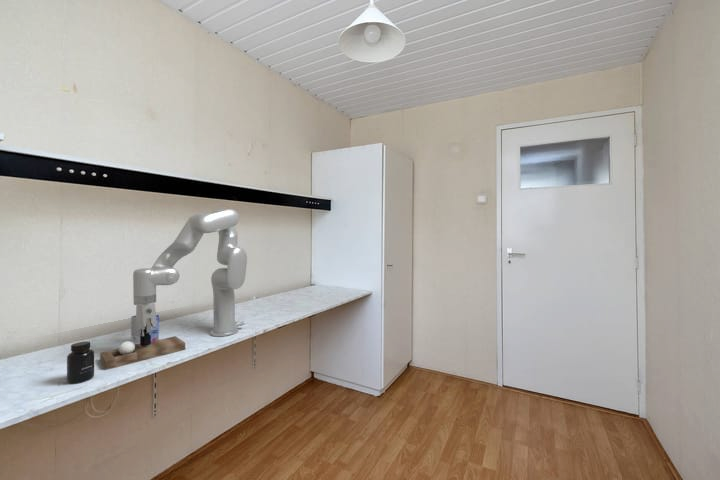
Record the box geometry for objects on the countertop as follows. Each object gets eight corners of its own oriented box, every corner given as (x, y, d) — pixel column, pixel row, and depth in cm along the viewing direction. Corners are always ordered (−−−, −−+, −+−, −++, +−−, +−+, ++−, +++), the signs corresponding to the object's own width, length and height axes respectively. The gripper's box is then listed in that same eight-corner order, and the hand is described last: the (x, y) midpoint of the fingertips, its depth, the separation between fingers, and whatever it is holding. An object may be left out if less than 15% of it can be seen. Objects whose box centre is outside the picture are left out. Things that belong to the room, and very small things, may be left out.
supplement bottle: (87, 382, 102) (87, 346, 101) (62, 385, 100) (61, 348, 99) (98, 373, 108) (98, 339, 108) (74, 376, 106) (74, 341, 106)
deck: (175, 342, 139) (175, 336, 138) (185, 349, 130) (185, 342, 130) (100, 360, 119) (99, 352, 119) (106, 369, 111) (106, 361, 111)
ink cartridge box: (159, 341, 140) (159, 309, 140) (149, 345, 135) (148, 312, 135) (141, 340, 142) (141, 308, 142) (130, 344, 137) (129, 311, 137)
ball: (118, 355, 120) (133, 350, 124) (121, 358, 117) (137, 353, 121) (116, 342, 120) (132, 338, 124) (120, 344, 117) (135, 340, 120)
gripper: (161, 300, 122) (162, 347, 123) (150, 295, 132) (151, 338, 133) (138, 304, 117) (139, 352, 117) (129, 298, 127) (129, 343, 127)
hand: (145, 345), depth 125 cm, fingers closed
